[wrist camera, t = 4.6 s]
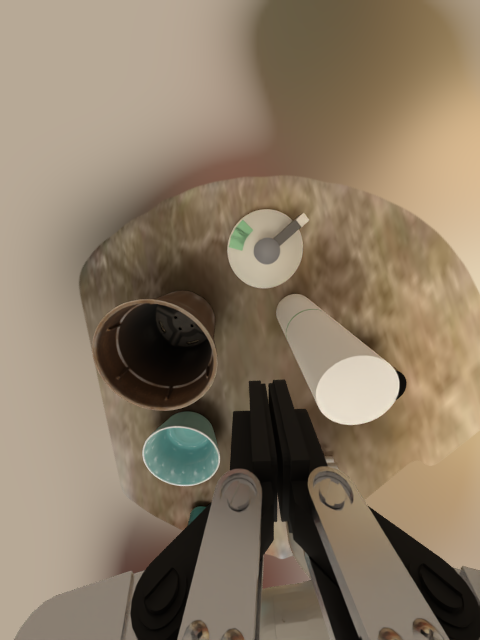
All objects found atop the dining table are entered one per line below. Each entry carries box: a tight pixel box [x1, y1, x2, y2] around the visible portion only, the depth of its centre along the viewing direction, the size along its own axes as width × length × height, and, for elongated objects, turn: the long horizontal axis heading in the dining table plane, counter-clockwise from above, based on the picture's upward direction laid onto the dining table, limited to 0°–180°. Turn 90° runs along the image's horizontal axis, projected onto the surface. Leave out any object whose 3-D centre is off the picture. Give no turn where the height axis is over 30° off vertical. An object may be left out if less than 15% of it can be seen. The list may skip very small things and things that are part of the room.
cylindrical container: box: [276, 294, 399, 425], centre depth 31 cm, size 7×7×25 cm
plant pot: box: [92, 291, 218, 411], centre depth 36 cm, size 16×16×16 cm
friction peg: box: [254, 213, 309, 264], centre depth 35 cm, size 10×4×4 cm, turn 131°
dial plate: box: [227, 209, 303, 288], centre depth 39 cm, size 13×13×2 cm
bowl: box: [142, 412, 220, 486], centre depth 48 cm, size 16×16×8 cm
